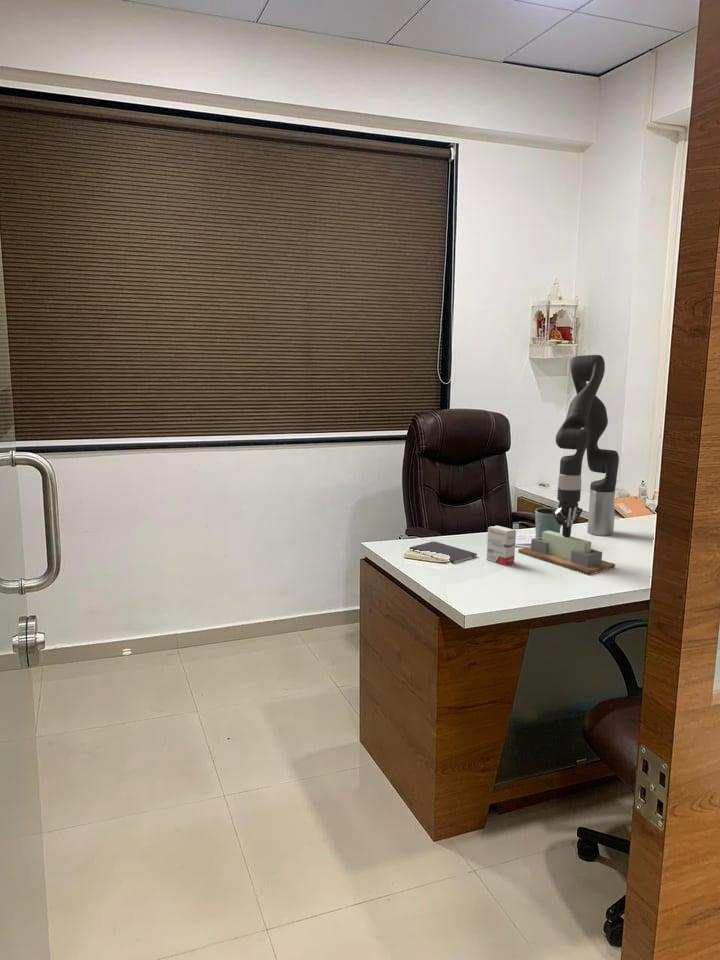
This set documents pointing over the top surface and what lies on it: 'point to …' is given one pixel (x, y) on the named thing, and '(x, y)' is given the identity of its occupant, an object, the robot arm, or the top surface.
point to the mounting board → (566, 561)
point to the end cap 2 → (586, 558)
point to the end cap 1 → (539, 545)
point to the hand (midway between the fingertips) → (566, 536)
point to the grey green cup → (546, 521)
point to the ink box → (501, 545)
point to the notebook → (446, 551)
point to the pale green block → (565, 544)
